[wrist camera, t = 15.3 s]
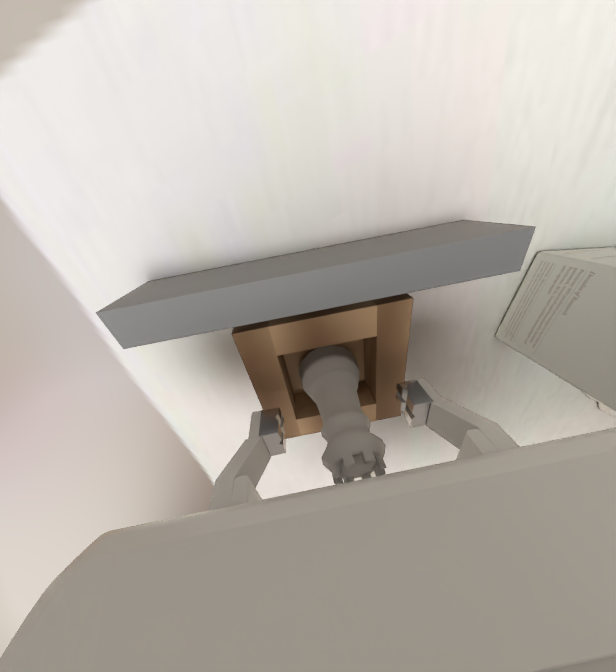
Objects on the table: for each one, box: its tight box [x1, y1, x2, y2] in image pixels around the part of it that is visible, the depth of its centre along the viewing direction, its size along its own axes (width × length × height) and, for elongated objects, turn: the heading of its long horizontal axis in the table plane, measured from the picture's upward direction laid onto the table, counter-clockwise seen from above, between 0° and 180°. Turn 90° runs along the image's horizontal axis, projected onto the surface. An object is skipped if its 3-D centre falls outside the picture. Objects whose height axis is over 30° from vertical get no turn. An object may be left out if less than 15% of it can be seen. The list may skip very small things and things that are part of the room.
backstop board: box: [96, 220, 536, 349], centre depth 12 cm, size 20×2×4 cm, turn 99°
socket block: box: [232, 293, 413, 439], centre depth 16 cm, size 10×10×4 cm
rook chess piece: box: [299, 345, 386, 485], centre depth 13 cm, size 4×4×8 cm
